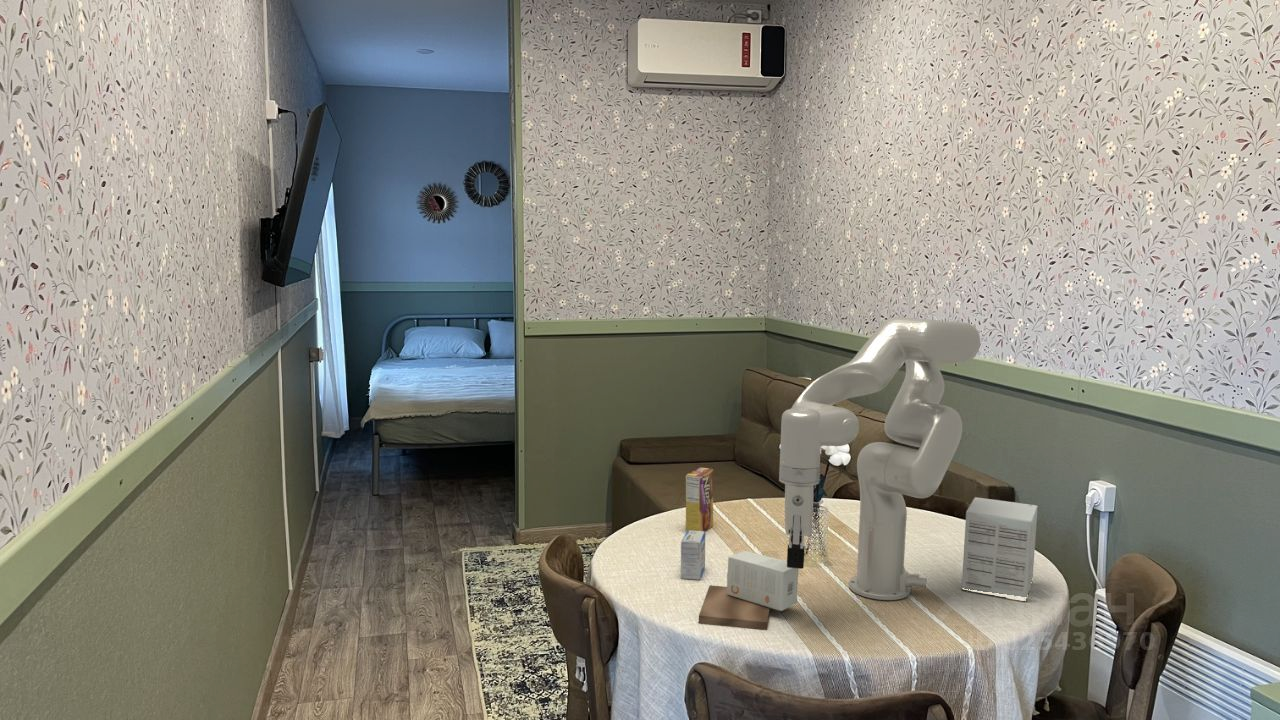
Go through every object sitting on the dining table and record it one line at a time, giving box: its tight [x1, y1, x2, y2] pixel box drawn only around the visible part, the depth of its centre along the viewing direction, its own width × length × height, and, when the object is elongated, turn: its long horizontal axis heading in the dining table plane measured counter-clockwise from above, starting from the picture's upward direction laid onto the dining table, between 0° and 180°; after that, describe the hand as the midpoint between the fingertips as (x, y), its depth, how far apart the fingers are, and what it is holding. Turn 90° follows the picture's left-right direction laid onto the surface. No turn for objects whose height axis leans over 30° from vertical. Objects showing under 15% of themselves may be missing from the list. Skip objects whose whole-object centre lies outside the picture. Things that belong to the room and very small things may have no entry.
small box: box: [726, 550, 800, 612], centre depth 181 cm, size 8×6×13 cm
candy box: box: [685, 467, 714, 533], centre depth 229 cm, size 9×4×15 cm, turn 152°
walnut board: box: [698, 584, 771, 630], centre depth 179 cm, size 13×16×2 cm
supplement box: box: [961, 496, 1038, 597], centre depth 193 cm, size 13×13×18 cm
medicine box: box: [680, 530, 706, 581], centre depth 198 cm, size 8×4×9 cm, turn 168°
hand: (795, 566), depth 173 cm, fingers closed
